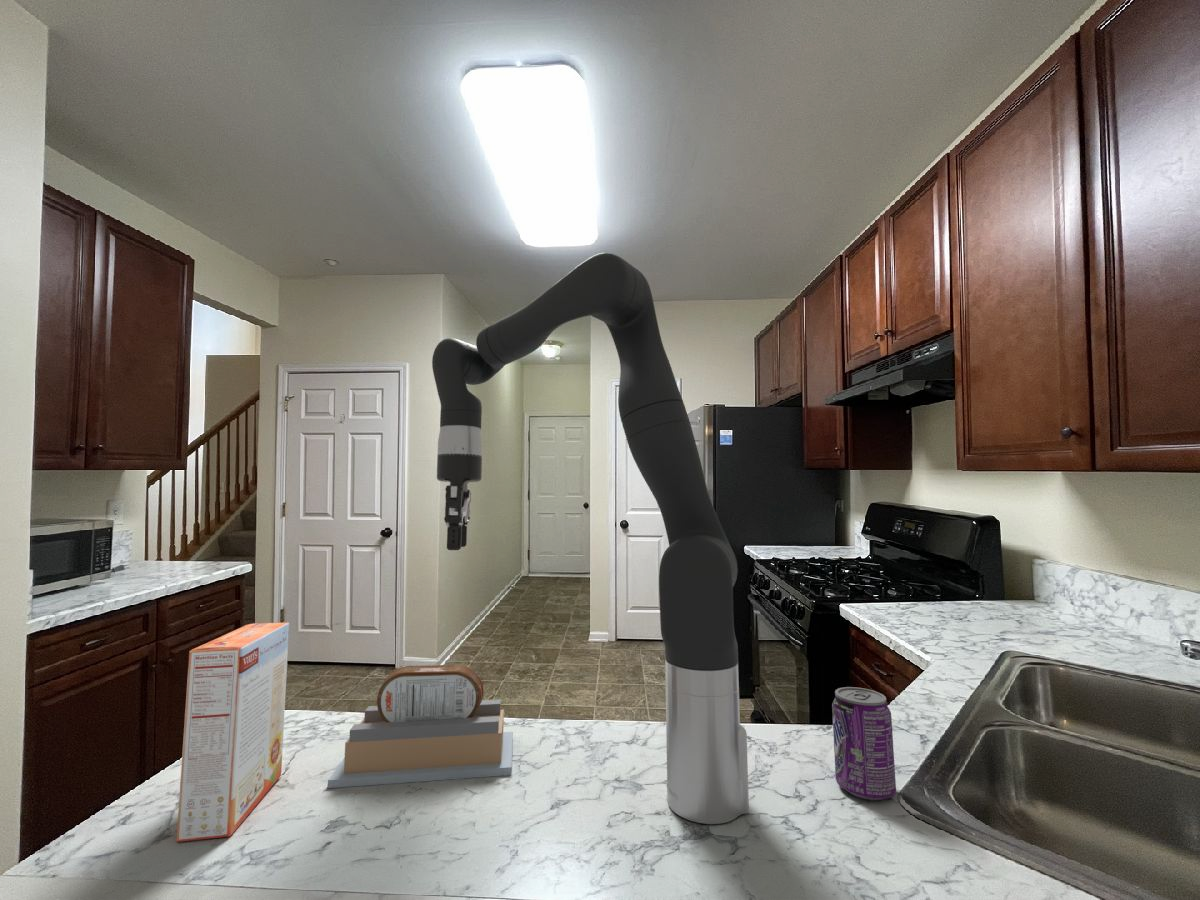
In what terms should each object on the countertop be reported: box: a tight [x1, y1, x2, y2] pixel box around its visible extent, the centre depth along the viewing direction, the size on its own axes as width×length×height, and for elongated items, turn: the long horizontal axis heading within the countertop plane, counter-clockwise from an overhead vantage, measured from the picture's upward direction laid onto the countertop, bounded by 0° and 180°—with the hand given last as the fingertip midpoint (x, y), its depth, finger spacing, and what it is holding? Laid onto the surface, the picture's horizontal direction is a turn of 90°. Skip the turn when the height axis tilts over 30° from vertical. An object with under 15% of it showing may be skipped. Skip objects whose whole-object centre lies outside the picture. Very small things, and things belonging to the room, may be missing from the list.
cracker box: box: [176, 622, 290, 843], centre depth 66 cm, size 14×6×21 cm, turn 10°
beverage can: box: [831, 686, 897, 801], centre depth 69 cm, size 7×7×12 cm
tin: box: [376, 664, 484, 722], centre depth 78 cm, size 15×3×8 cm, turn 97°
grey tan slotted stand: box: [327, 699, 514, 789], centre depth 77 cm, size 24×12×7 cm, turn 98°
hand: (457, 548), depth 90 cm, fingers open, 8 cm apart
